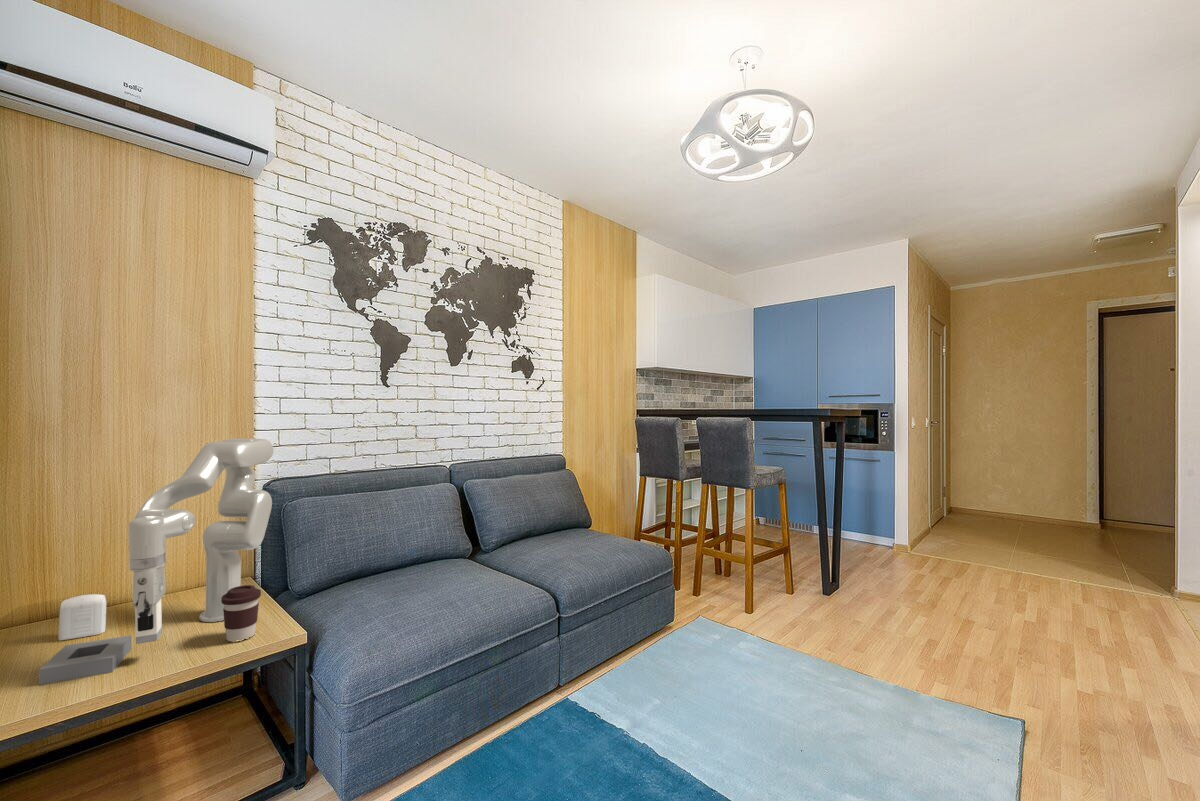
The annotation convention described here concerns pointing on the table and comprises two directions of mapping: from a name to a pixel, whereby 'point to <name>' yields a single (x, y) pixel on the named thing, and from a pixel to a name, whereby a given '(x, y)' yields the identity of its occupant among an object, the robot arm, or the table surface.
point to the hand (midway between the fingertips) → (148, 625)
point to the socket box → (85, 660)
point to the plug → (157, 629)
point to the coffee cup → (240, 612)
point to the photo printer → (82, 616)
